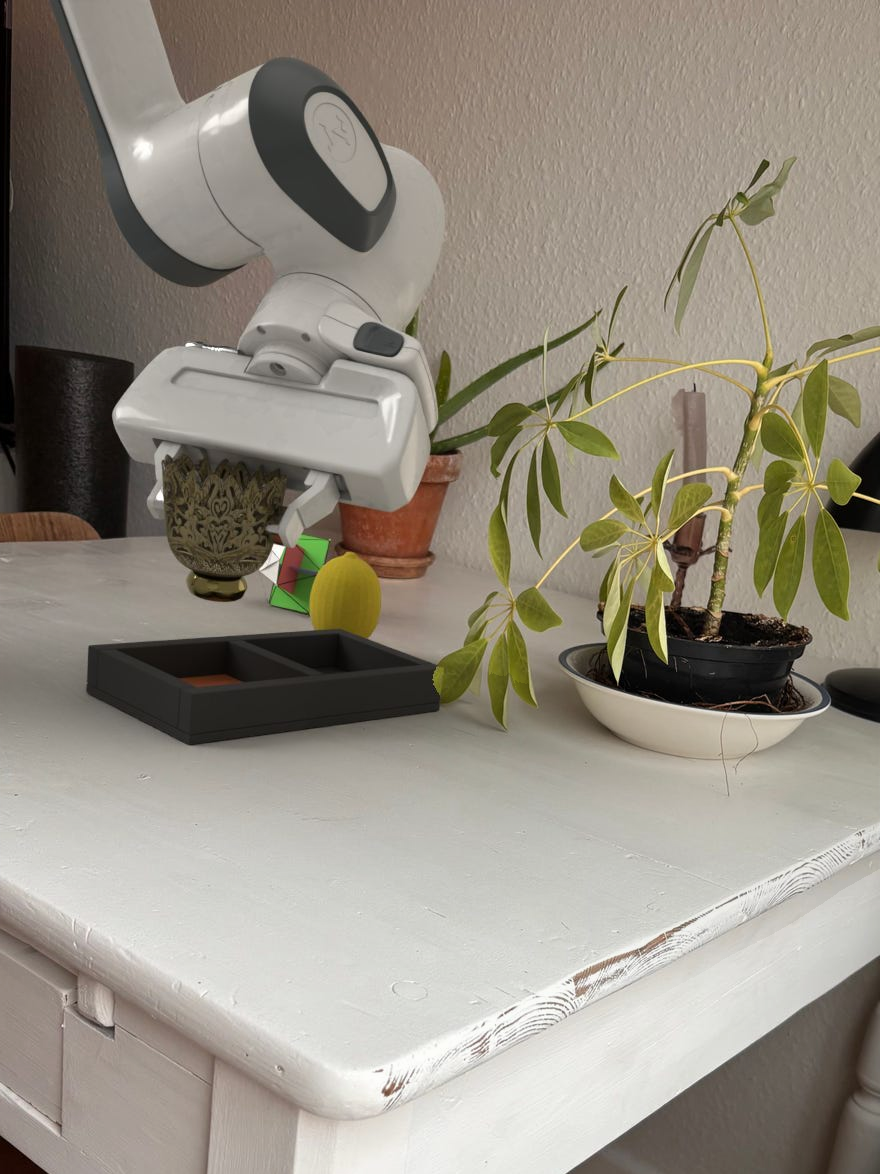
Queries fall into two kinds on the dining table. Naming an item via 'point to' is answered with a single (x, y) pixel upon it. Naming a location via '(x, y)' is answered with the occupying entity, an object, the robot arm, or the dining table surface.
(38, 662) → the dining table surface
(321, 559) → the geometric puzzle
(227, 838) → the dining table surface
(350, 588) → the lemon
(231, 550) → the cup
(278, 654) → the tray
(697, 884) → the dining table surface
